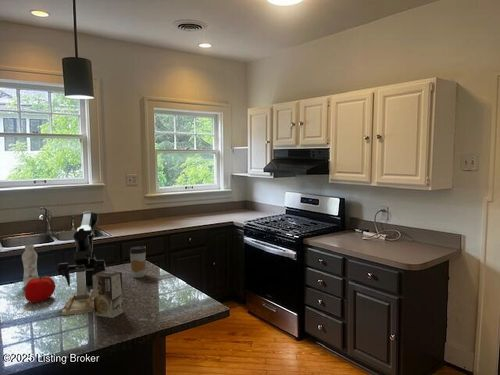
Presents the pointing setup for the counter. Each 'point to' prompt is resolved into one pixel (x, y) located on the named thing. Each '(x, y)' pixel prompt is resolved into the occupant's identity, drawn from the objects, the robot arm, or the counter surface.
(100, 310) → the coffee box
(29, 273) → the plastic bottle
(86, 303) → the fader track
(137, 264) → the coffee cup
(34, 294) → the tomato
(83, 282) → the fader knob
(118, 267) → the counter surface
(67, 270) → the robot arm
